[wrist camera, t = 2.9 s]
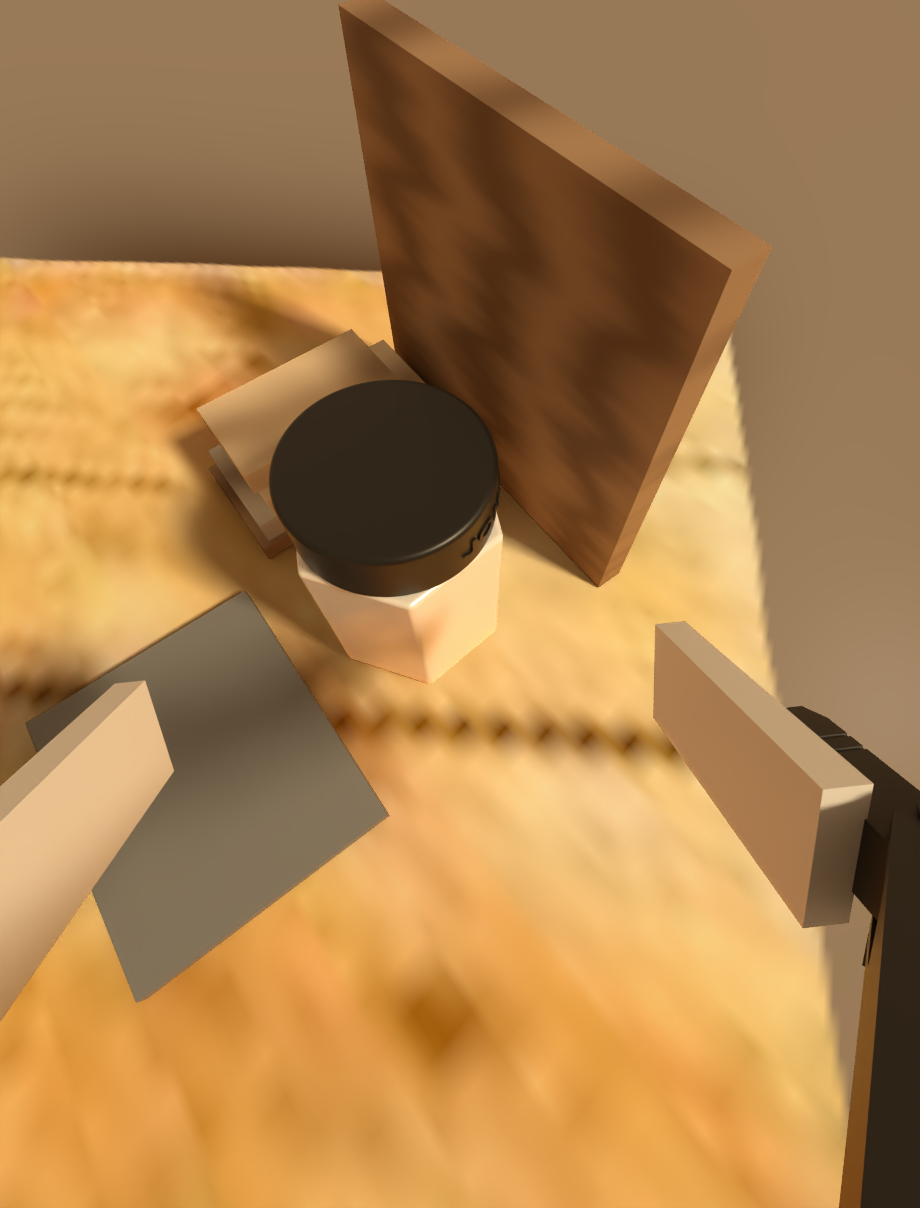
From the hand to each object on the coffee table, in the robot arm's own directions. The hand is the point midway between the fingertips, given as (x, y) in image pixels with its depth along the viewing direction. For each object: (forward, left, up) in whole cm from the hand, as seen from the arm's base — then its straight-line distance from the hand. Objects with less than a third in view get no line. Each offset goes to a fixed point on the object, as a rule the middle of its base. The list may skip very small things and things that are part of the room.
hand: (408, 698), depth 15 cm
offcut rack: (-13, +7, -13) cm, 20 cm away
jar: (-8, +4, -14) cm, 16 cm away
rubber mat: (-7, -9, -13) cm, 17 cm away
